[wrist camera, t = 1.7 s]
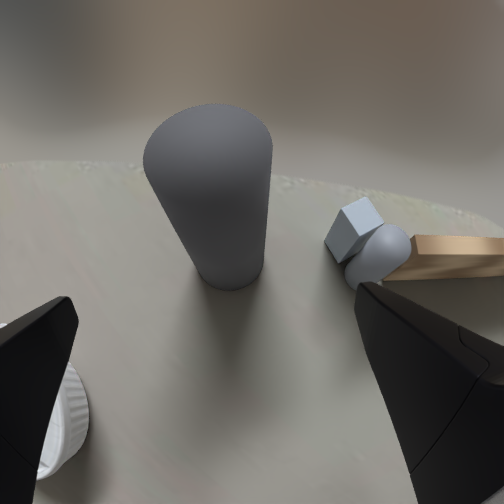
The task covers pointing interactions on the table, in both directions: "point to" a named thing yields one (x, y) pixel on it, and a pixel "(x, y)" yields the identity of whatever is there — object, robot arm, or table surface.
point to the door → (451, 258)
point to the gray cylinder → (214, 188)
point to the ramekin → (65, 424)
